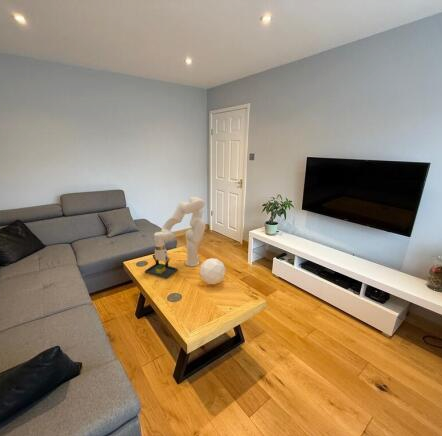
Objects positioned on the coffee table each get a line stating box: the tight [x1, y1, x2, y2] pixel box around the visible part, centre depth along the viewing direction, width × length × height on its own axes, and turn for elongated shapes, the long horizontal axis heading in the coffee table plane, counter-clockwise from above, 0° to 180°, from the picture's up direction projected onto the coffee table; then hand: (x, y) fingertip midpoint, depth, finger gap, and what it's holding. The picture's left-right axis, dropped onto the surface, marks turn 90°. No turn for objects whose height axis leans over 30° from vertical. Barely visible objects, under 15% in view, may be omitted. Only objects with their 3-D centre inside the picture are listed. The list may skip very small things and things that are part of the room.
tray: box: [144, 263, 178, 280], centre depth 194 cm, size 16×22×2 cm
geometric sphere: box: [199, 257, 227, 286], centre depth 177 cm, size 19×20×20 cm
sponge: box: [156, 263, 166, 274], centre depth 193 cm, size 7×4×5 cm, turn 153°
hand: (162, 266), depth 194 cm, fingers open, 9 cm apart
